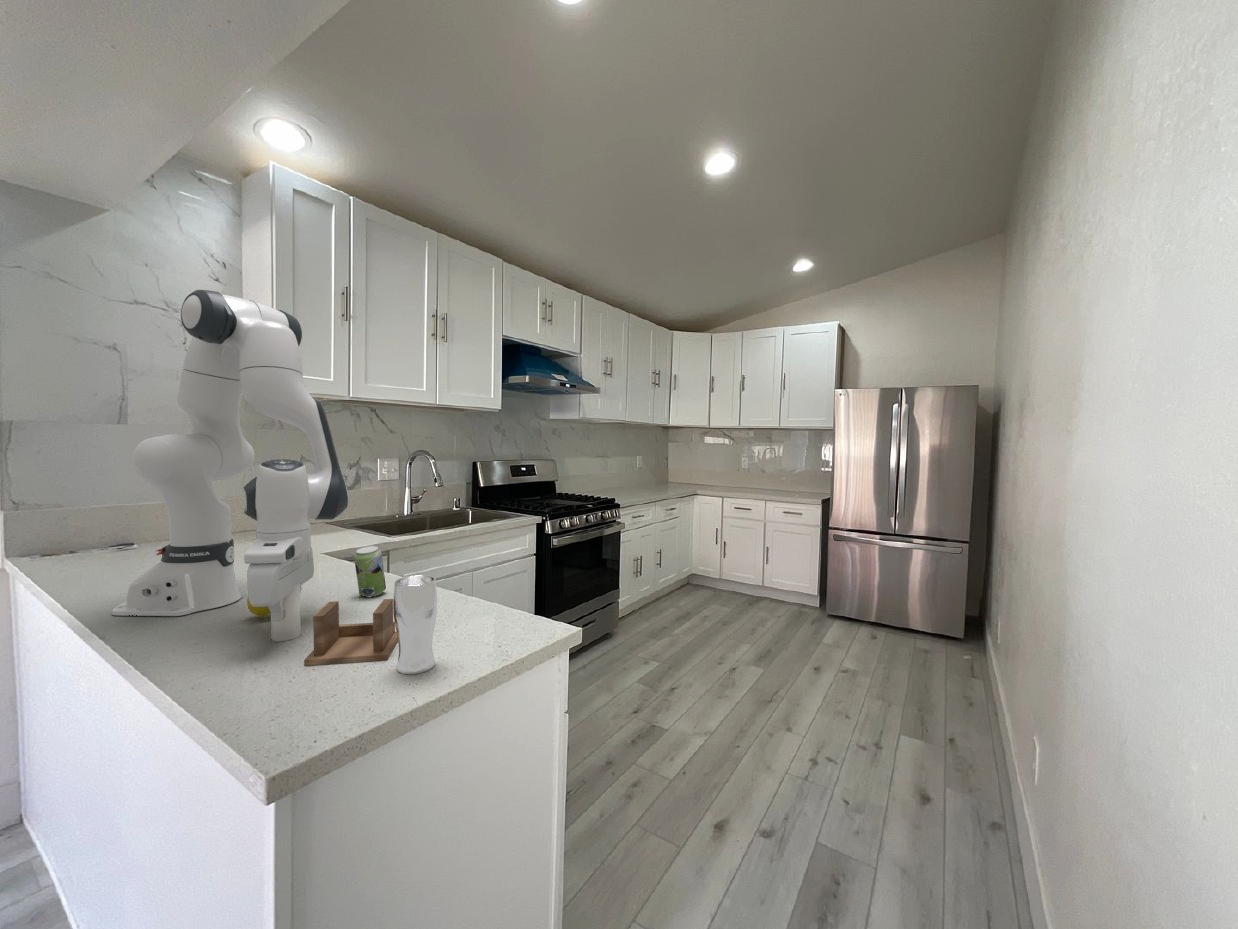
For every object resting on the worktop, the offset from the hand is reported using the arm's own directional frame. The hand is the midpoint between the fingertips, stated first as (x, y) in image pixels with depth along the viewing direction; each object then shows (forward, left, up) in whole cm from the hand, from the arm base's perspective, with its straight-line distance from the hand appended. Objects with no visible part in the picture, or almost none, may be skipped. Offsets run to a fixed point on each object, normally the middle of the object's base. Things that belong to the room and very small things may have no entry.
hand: (285, 614), depth 100 cm
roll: (0, 0, -4) cm, 4 cm away
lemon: (-9, +12, -4) cm, 16 cm away
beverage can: (+9, +25, -4) cm, 27 cm away
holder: (+15, -9, -4) cm, 18 cm away
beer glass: (+27, -18, -4) cm, 33 cm away
